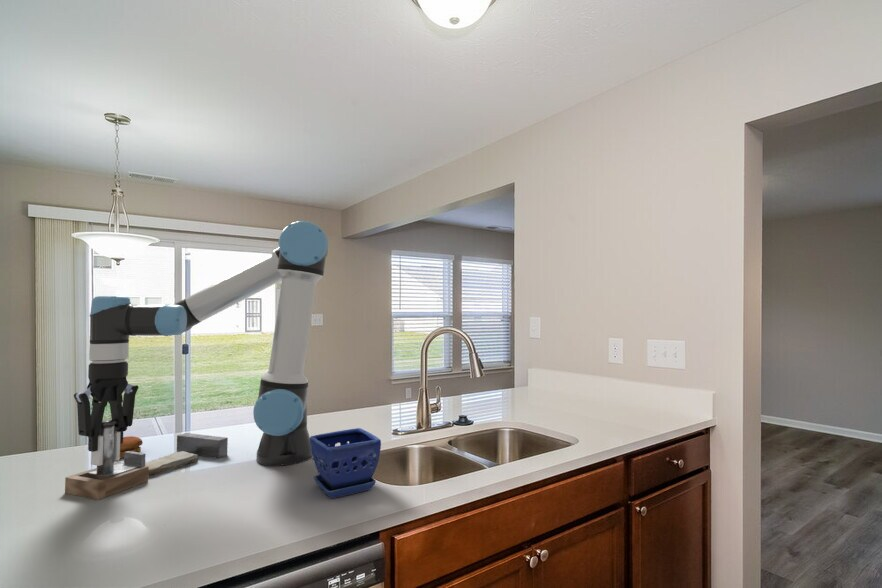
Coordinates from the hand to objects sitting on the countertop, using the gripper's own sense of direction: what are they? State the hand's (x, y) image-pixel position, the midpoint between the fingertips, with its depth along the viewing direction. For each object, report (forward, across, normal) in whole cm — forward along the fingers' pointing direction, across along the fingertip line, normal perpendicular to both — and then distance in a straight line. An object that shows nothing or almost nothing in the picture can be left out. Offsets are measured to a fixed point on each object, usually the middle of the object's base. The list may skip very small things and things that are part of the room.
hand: (105, 461), depth 104 cm
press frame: (+6, -2, 0) cm, 6 cm away
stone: (+7, -17, 0) cm, 18 cm away
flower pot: (+6, -18, +53) cm, 56 cm away
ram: (+5, -3, 0) cm, 6 cm away
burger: (+6, -19, -22) cm, 30 cm away
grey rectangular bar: (+6, -27, 0) cm, 28 cm away
